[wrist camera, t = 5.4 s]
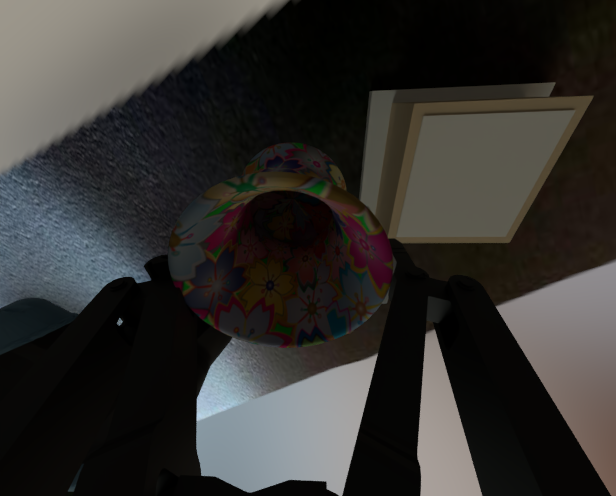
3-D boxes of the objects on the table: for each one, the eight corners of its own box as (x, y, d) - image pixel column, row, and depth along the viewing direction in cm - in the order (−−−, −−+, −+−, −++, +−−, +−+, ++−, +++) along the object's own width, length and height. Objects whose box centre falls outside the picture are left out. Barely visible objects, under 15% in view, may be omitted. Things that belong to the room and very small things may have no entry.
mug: (212, 180, 17) (114, 261, 8) (310, 104, 14) (319, 103, 6) (297, 276, 23) (293, 385, 14) (380, 234, 20) (439, 336, 11)
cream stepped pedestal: (356, 220, 29) (366, 251, 23) (369, 91, 21) (388, 87, 15) (481, 219, 28) (526, 251, 22) (544, 83, 20) (640, 75, 14)
